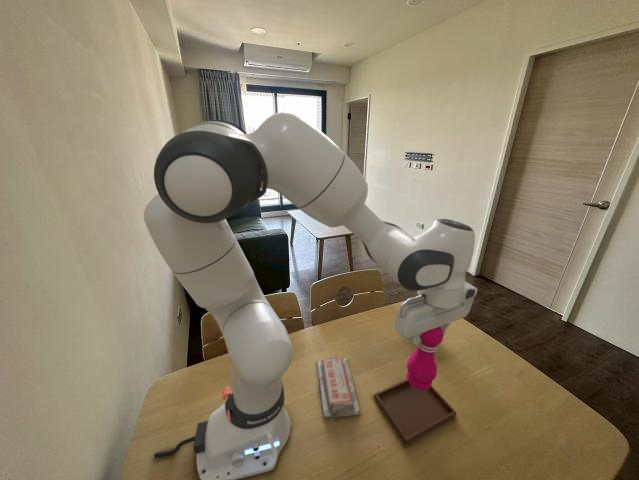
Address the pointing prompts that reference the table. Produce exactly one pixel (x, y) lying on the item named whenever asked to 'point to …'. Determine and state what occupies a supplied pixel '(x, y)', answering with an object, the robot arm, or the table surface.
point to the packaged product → (337, 388)
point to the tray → (413, 410)
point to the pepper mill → (424, 360)
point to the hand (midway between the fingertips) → (428, 338)
